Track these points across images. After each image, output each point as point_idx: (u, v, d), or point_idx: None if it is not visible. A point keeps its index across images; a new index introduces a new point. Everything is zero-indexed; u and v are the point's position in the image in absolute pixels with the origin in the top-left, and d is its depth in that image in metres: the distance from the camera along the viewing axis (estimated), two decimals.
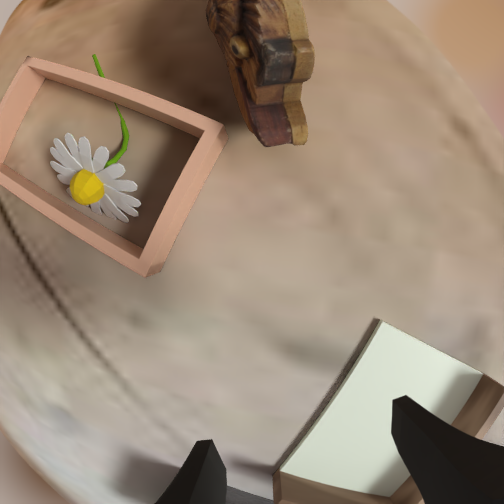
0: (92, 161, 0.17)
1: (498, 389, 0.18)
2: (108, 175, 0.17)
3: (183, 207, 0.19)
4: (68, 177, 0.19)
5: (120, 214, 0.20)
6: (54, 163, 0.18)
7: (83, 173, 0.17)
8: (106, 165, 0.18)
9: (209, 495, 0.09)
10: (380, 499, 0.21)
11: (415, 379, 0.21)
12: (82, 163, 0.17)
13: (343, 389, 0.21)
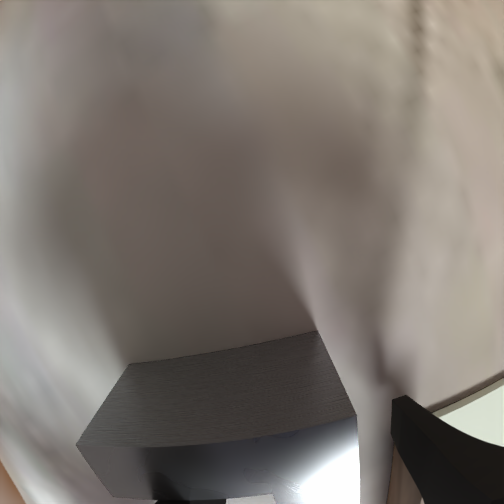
0: None
1: None
2: None
3: None
4: None
5: None
6: None
7: None
8: None
9: None
10: None
11: None
12: None
13: None
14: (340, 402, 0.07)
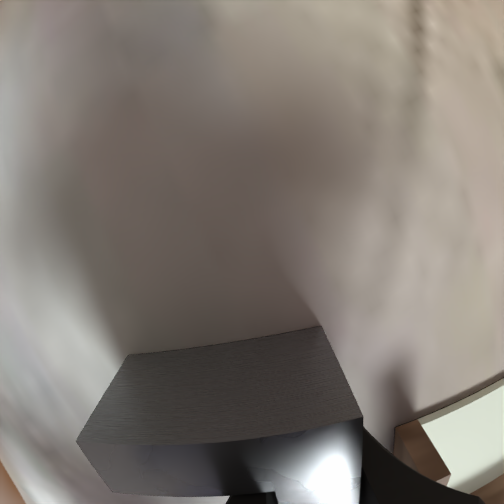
0: None
1: None
2: None
3: None
4: None
5: None
6: None
7: None
8: None
9: None
10: None
11: None
12: None
13: None
14: (346, 402, 0.07)
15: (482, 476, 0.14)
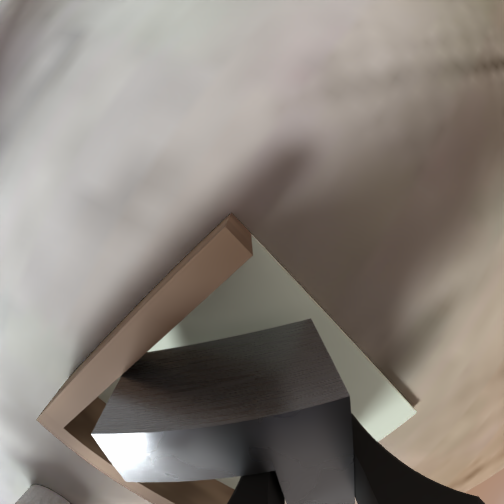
0: None
1: None
2: None
3: None
4: None
5: None
6: None
7: None
8: None
9: (276, 488, 0.08)
10: None
11: None
12: None
13: (370, 367, 0.15)
14: (334, 384, 0.08)
15: None
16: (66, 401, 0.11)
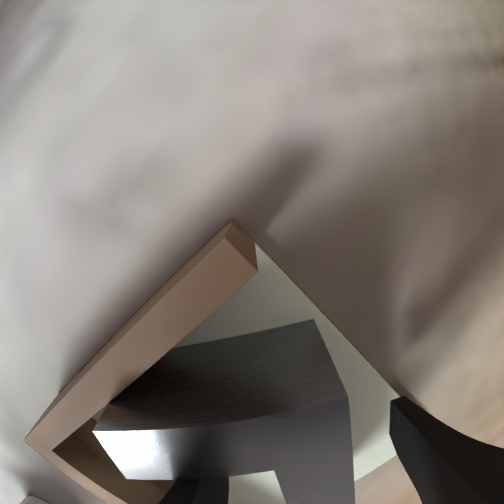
0: None
1: None
2: None
3: None
4: None
5: None
6: None
7: None
8: None
9: (212, 494, 0.09)
10: None
11: None
12: None
13: (383, 386, 0.13)
14: (334, 385, 0.08)
15: None
16: (52, 424, 0.09)
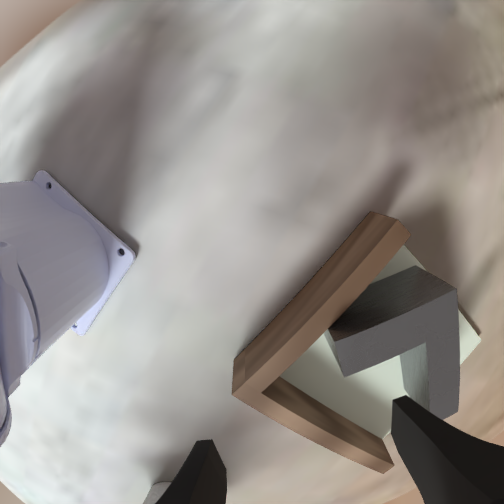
0: None
1: (389, 458, 0.20)
2: None
3: None
4: None
5: None
6: None
7: None
8: None
9: (209, 495, 0.09)
10: None
11: None
12: None
13: None
14: (447, 286, 0.15)
15: (346, 387, 0.22)
16: (273, 365, 0.17)
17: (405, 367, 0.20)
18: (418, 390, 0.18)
